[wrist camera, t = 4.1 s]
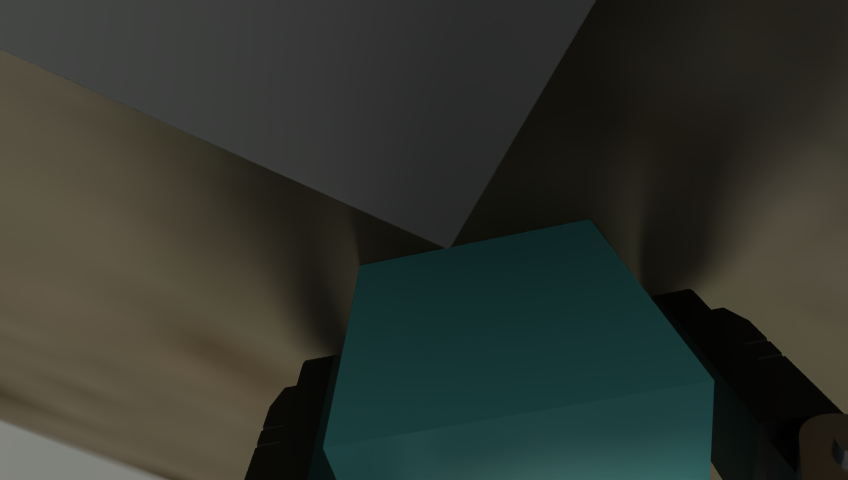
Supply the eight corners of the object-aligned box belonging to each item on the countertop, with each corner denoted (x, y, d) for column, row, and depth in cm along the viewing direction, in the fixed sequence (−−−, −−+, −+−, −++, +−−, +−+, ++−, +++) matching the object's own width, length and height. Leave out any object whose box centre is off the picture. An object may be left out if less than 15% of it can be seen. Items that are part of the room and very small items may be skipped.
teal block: (360, 263, 11) (323, 448, 7) (589, 217, 11) (714, 381, 6) (411, 426, 13) (410, 648, 9) (603, 393, 13) (703, 609, 8)
